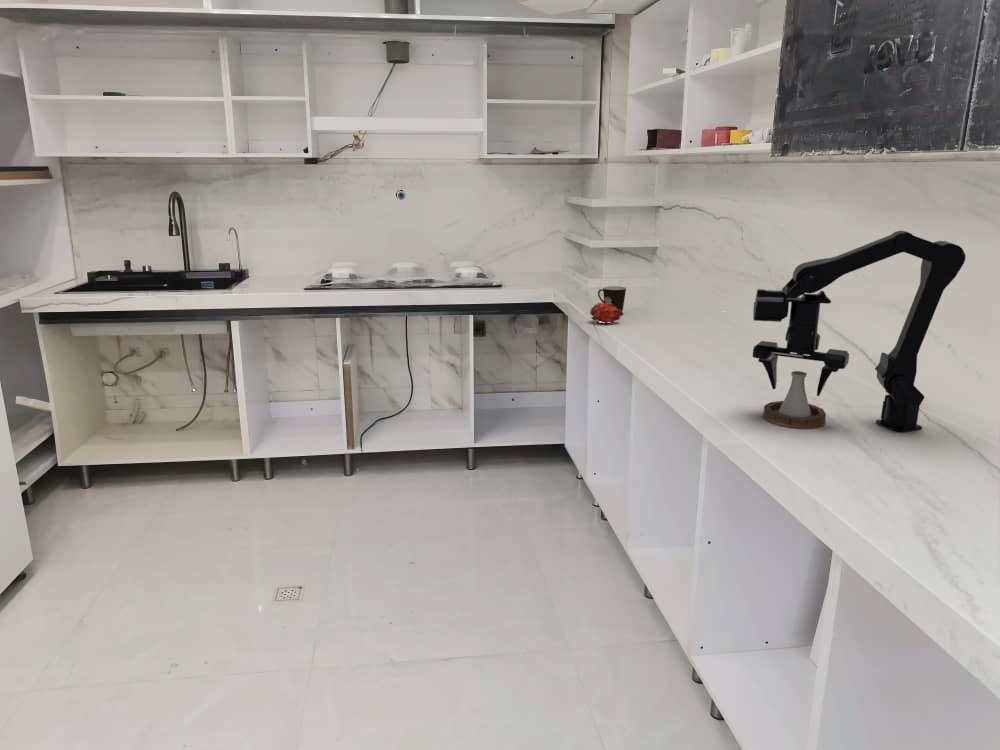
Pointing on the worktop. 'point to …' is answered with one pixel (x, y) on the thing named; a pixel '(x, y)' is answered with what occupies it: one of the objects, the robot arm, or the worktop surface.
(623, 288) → the coffee mug
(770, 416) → the round wooden tray
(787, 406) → the flask
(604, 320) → the dragon fruit
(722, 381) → the worktop surface
